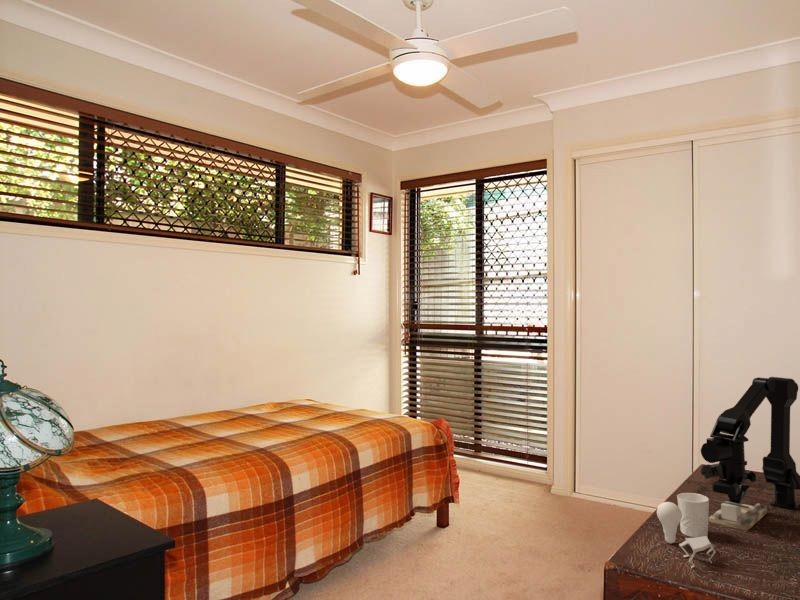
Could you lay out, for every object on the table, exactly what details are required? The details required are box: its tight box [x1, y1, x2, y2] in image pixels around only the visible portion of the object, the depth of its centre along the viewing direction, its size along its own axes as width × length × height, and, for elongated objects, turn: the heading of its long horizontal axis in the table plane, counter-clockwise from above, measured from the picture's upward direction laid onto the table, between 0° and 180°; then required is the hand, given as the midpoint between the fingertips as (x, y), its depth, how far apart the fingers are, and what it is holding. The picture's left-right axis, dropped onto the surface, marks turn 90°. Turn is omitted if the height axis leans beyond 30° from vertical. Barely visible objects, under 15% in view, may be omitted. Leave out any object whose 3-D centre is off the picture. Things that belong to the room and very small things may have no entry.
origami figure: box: [678, 535, 717, 569], centre depth 142 cm, size 12×8×5 cm
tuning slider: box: [713, 499, 749, 522], centre depth 165 cm, size 4×9×4 cm, turn 42°
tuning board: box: [708, 503, 768, 532], centre depth 169 cm, size 18×10×2 cm, turn 132°
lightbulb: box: [656, 501, 682, 544], centre depth 153 cm, size 6×6×11 cm
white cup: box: [676, 492, 710, 538], centre depth 159 cm, size 8×8×10 cm
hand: (735, 510), depth 167 cm, fingers closed
